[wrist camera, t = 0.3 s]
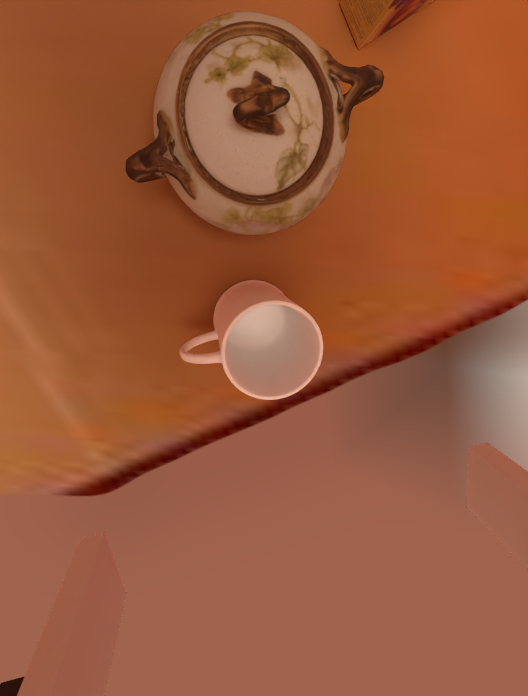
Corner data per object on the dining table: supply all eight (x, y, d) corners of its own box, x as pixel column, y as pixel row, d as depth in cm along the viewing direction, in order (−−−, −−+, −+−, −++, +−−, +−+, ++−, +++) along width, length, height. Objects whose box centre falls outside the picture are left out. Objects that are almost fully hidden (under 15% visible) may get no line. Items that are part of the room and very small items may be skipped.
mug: (188, 364, 39) (182, 415, 28) (176, 286, 37) (165, 307, 25) (293, 352, 41) (327, 395, 30) (289, 276, 38) (325, 291, 27)
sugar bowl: (177, 265, 36) (161, 283, 22) (107, 101, 31) (28, -13, 17) (357, 198, 37) (452, 172, 23) (316, 28, 32) (404, -137, 18)
